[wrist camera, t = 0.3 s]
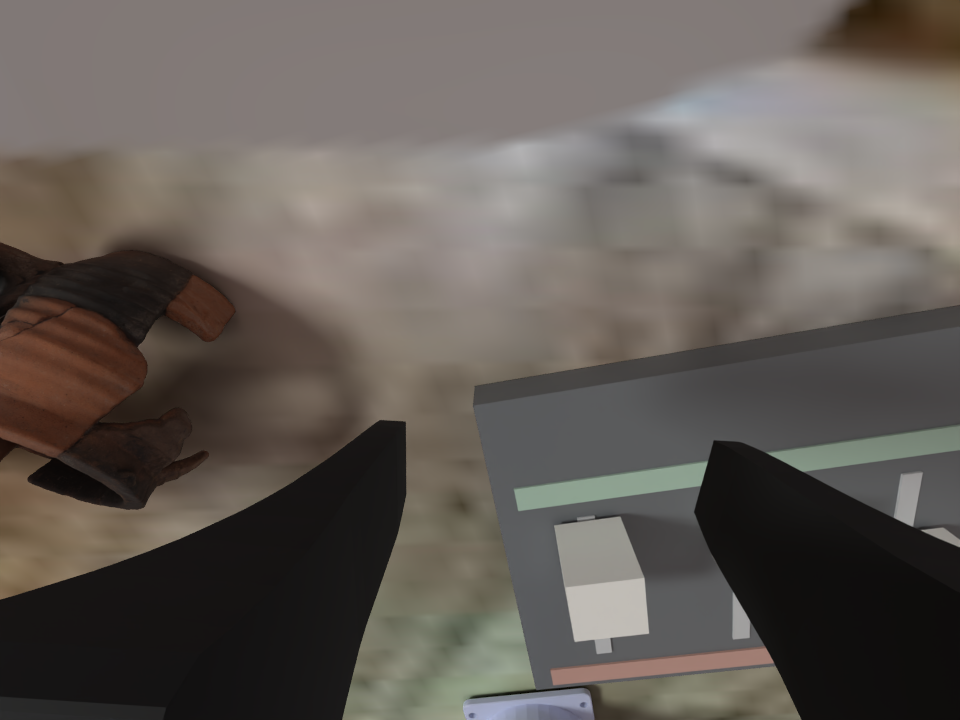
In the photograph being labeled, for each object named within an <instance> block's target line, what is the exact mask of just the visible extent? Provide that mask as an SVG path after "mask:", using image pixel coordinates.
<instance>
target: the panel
mask: <svg viewBox="0 0 960 720" xmlns="http://www.w3.org/2000/svg"><path fill="white" fill-rule="evenodd" d="M473 408H474V412H475V417H476V421H477V426H478V430H479V435H480V439H481V444H482V448H483V453H484V457H485V462H486V466H487V471H488V475H489V480H490V484H491V489H492V493H493V498H494V502H495V507H496V511H497V516H498V520H499V525H500V529H501V534H502V538H503V543H504V547H505V552H506V556H507V561H508V565H509V570H510V574H511V579H512V583H513V588H514V592H515V597H516V601H517V606H518V610H519V615H520V619H521V624H522V628H523V633H524V637H525V642H526V646H527V651H528V655H529V660H530V664H531V669H532V673H533V678H534V682H535V687H536V690H541V689H551V688H561V687H571V686H581V685H591V684H601V683H611V682H621V681H631V680H641V679H651V678H661V677H671V676H681V675H691V674H701V673H711V672H721V671H731V670H741V669H751V668H761V667H771V666H775V664H774V662H773V660H772V658H771V656H770V654H769V653H768V651H767V649H766V647H765V646H764V644H763V642H762V640H761V639H760V637H759V635H758V634H757V632H756V630H755V629H754V627H753V625H752V623H751V622H750V620H749V618H748V617H747V615H746V613H745V611H744V610H743V608H742V606H741V605H740V603H739V601H738V600H737V598H736V596H735V594H734V593H733V591H732V589H731V588H730V586H729V584H728V582H727V581H726V579H725V577H724V575H723V574H722V572H721V570H720V568H719V567H718V565H717V563H716V562H715V560H714V558H713V557H712V554H711V552H710V550H709V548H708V546H707V543H706V541H705V539H704V536H703V534H702V531H701V529H700V526H699V524H698V521H697V519H696V516H695V513H694V510H695V506H696V502H697V499H698V495H699V492H700V488H701V484H702V481H703V477H704V474H705V470H706V466H707V463H708V459H709V456H710V452H711V448H712V445H713V441H714V440H719V441H736V442H742V443H745V444H747V445H750V446H752V447H754V448H757V449H759V450H761V451H763V452H765V453H767V454H769V455H771V456H773V457H775V458H777V459H779V460H781V461H783V462H785V463H787V464H789V465H791V466H793V467H795V468H797V469H798V470H800V471H802V472H804V473H806V474H808V475H810V476H812V477H814V478H816V479H818V480H819V481H821V482H823V483H825V484H827V485H829V486H831V487H833V488H835V489H837V490H839V491H841V492H843V493H845V494H846V495H848V496H850V497H852V498H854V499H856V500H858V501H860V502H862V503H864V504H866V505H868V506H870V507H872V508H875V509H877V510H879V511H881V512H883V513H885V514H887V515H889V516H891V517H893V518H895V519H897V520H899V521H902V522H904V523H906V524H908V525H910V526H912V527H914V528H917V529H919V530H927V529H935V528H945V529H946V530H947V531H949V532H950V533H951V534H953V535H954V536H955V537H957V538H958V539H959V540H960V305H959V306H953V307H947V308H941V309H935V310H929V311H923V312H917V313H911V314H905V315H899V316H893V317H887V318H881V319H875V320H869V321H863V322H857V323H851V324H845V325H839V326H833V327H827V328H821V329H815V330H809V331H803V332H797V333H791V334H785V335H779V336H773V337H767V338H761V339H755V340H749V341H743V342H737V343H731V344H725V345H719V346H713V347H707V348H701V349H695V350H689V351H683V352H677V353H671V354H665V355H659V356H653V357H647V358H641V359H635V360H629V361H623V362H617V363H611V364H605V365H599V366H593V367H587V368H581V369H575V370H569V371H563V372H557V373H551V374H545V375H539V376H533V377H527V378H521V379H515V380H509V381H503V382H497V383H491V384H485V385H479V386H475V391H474V401H473ZM613 517H621V520H622V522H623V525H624V527H625V530H626V532H627V535H628V537H629V540H630V543H631V545H632V548H633V550H634V553H635V555H636V558H637V560H638V563H639V565H640V568H641V570H642V573H643V576H644V579H645V591H646V603H647V615H648V627H649V634H642V635H633V636H623V637H614V638H605V639H596V640H587V641H578V642H575V641H574V636H573V630H572V625H571V619H570V614H569V608H568V603H567V597H566V592H565V586H564V581H563V575H562V569H561V563H560V557H559V552H558V546H557V540H556V534H555V528H554V525H560V524H568V523H575V522H583V521H590V520H598V519H605V518H613Z"/></svg>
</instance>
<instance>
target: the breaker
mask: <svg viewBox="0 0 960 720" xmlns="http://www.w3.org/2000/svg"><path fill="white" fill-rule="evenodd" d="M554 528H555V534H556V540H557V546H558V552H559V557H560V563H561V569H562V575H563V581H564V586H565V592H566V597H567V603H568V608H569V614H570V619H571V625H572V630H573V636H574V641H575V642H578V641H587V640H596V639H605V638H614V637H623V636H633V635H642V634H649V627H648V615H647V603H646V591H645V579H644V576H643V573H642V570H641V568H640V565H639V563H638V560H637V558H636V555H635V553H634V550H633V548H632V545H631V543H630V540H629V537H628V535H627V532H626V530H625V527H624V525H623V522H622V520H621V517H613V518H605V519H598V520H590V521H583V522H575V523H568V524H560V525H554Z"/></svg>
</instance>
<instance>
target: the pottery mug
mask: <svg viewBox="0 0 960 720" xmlns="http://www.w3.org/2000/svg"><path fill="white" fill-rule="evenodd" d="M234 313H235V308H234V306H233V305H232V304H231V303H230V302H229V301H228V300H227V299H226V298H225V297H224V296H223V295H222V294H221V293H219V292H218V291H217V290H216V289H215V288H213V287H212V286H211V285H210V284H208V283H206V282H204V281H203V280H201V279H200V278H199V277H197V276H195V275H193V274H192V273H191V272H189V271H188V270H186V269H184V268H182V267H180V266H178V265H176V264H174V263H172V262H170V261H169V260H168V259H165V258H161V257H157V256H154V255H152V254H150V253H147V252H141V251H133V250H131V251H120V252H114V253H110V254H108V255H105V256H102V257H96V258H91V259H87V260H82V261H78V262H75V263H68V264H63V263H62V262H58V261H49V260H44V259H40V258H37V257H35V256H32V255H30V254H28V253H26V252H24V251H21V250H19V249H17V248H14V247H11V246H9V245H6V244H3V243H0V462H1V460H2V459H3V458H4V457H5V456H6V455H8V454H9V452H10V451H12V450H13V449H14V448H22V449H25V450H27V451H29V452H31V453H34V454H37V455H40V456H43V457H46V458H49V459H52V460H51V461H50V462H48V463H47V464H45V465H44V466H43V467H41V468H39V469H38V470H37V471H36V472H34V473H33V474H32V475H30V476H29V477H28V482H30V483H32V484H34V485H36V486H39V487H41V488H44V489H46V490H50V491H53V492H56V493H58V494H61V495H67V496H70V497H73V498H75V499H77V500H80V501H84V502H88V503H92V504H97V505H103V506H109V507H116V508H121V509H126V510H130V509H136V510H138V509H141V508H144V507H145V505H146V503H147V500H148V498H149V497H150V495H151V494H152V492H153V491H154V489H155V488H156V486H160V485H162V484H164V483H165V482H168V481H171V480H175V479H178V478H179V477H180V476H182V475H184V474H186V473H188V472H190V471H191V470H193V469H194V468H196V467H197V466H199V465H200V464H201V463H202V462H203V461H204V460H205V459H206V458H207V457H208V456H209V453H208V452H207V451H200V452H198V453H196V454H194V455H192V456H191V457H188V458H185V459H183V460H179V461H175V462H174V460H175V459H176V457H178V456H179V454H180V452H181V450H182V446H183V442H184V440H185V439H186V438H187V437H188V436H189V435H190V433H191V431H192V425H191V422H190V419H189V417H188V414H187V412H186V411H185V410H184V409H182V408H179V407H178V408H174V409H172V410H170V411H168V412H167V413H165V414H164V415H162V416H161V417H160V418H159V419H148V420H144V421H138V422H129V423H101V422H99V420H100V419H101V418H103V417H104V416H105V415H107V414H108V413H109V412H110V411H111V410H112V409H113V408H114V407H116V406H117V405H118V404H120V403H121V402H122V401H124V400H125V399H126V398H127V397H129V396H130V395H132V394H133V393H135V392H136V391H138V390H139V389H140V388H141V387H142V386H143V384H144V379H145V378H146V375H147V366H148V365H147V362H146V360H145V358H144V356H143V354H142V353H141V352H140V351H139V349H138V348H137V347H138V345H140V344H141V343H142V341H143V340H144V339H145V337H146V334H147V333H148V331H149V329H150V328H151V326H152V325H153V324H154V322H155V320H157V319H158V318H160V317H161V316H163V315H165V316H167V317H168V318H170V319H172V320H174V321H177V322H179V323H180V324H181V325H183V326H184V327H186V328H188V329H189V330H190V331H192V332H193V333H195V334H196V335H197V336H198V337H200V338H201V339H202V340H203V341H205V342H211V341H214V340H215V339H216V338H218V337H219V335H220V334H221V333H222V331H223V328H224V326H225V324H226V323H227V322H228V321H229V320H230V318H231V317H232V316H233V315H234Z"/></svg>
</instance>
